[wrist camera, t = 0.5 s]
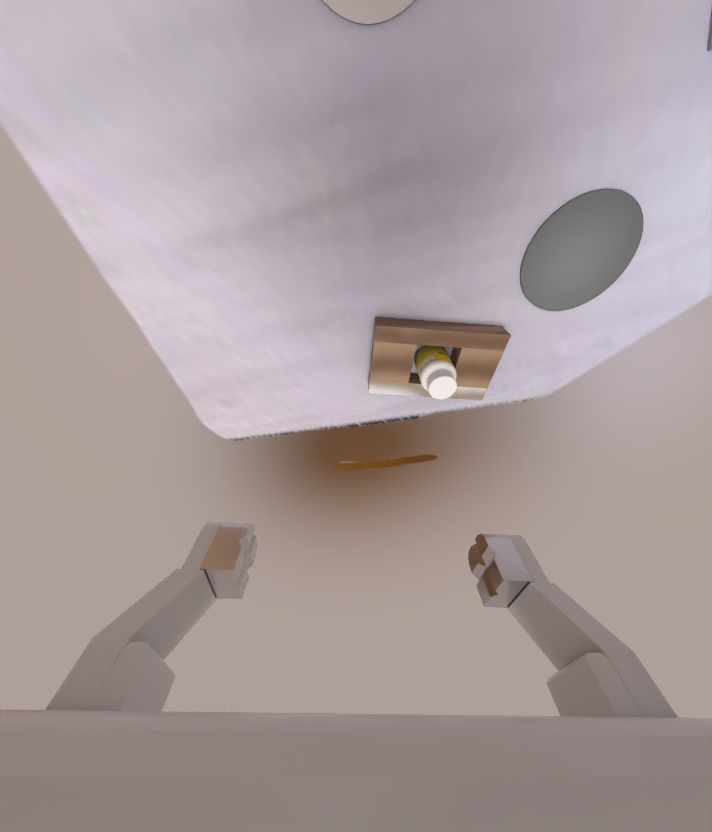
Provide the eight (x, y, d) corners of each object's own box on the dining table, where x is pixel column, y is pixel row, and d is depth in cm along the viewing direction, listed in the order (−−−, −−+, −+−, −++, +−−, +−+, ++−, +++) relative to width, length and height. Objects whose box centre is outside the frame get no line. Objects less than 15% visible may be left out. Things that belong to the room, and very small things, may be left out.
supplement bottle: (452, 358, 47) (468, 391, 39) (424, 375, 49) (434, 409, 42) (436, 334, 44) (451, 365, 37) (407, 353, 47) (416, 386, 39)
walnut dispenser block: (375, 317, 43) (376, 325, 40) (502, 326, 43) (510, 335, 41) (368, 382, 50) (368, 392, 48) (475, 389, 51) (481, 400, 48)
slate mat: (552, 184, 32) (555, 184, 32) (668, 194, 32) (672, 194, 32) (503, 306, 41) (505, 307, 41) (594, 312, 42) (597, 314, 41)
